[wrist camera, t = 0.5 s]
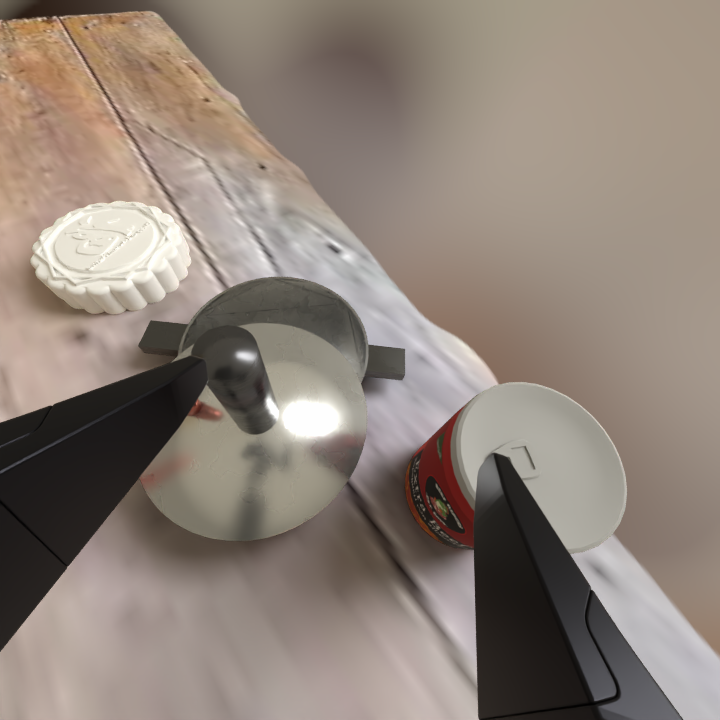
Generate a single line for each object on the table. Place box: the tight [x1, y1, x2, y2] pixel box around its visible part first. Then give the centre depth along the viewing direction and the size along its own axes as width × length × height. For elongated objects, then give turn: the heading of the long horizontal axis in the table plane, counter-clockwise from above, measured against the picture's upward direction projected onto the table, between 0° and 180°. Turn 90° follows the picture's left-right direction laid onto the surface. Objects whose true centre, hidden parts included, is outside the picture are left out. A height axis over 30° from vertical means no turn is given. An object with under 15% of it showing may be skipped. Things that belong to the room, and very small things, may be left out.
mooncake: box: [30, 201, 191, 315], centre depth 30 cm, size 12×12×4 cm
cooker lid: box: [139, 323, 367, 541], centre depth 18 cm, size 15×15×9 cm
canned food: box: [405, 382, 627, 554], centre depth 19 cm, size 8×8×11 cm
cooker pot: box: [138, 277, 405, 383], centre depth 26 cm, size 14×20×3 cm
